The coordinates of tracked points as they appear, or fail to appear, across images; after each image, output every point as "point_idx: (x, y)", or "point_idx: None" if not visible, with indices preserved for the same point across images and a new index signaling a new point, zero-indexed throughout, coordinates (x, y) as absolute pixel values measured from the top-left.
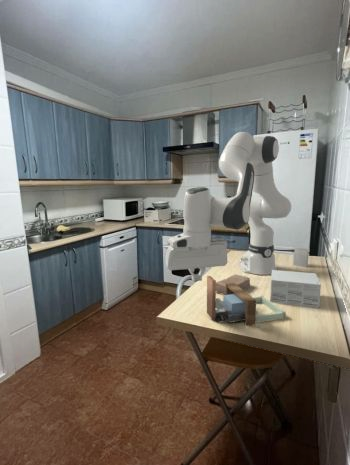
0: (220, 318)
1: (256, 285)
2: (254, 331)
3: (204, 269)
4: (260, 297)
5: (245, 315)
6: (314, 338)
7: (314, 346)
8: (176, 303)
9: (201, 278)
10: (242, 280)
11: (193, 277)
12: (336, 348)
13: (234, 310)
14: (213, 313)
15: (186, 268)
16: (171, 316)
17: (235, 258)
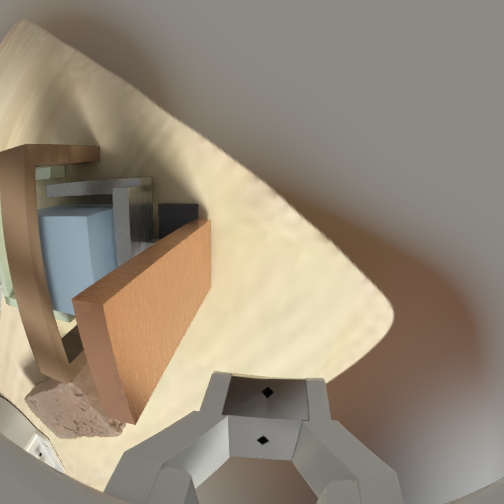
0: (169, 225)
1: (24, 377)
2: (95, 108)
3: (129, 471)
4: (11, 297)
5: (76, 160)
6: (8, 73)
7: (28, 41)
8: None
9: (214, 384)
10: (39, 401)
11: (329, 409)
12: (8, 41)
13: (97, 209)
14: (195, 225)
15: (498, 488)
16: (368, 312)
17: None
